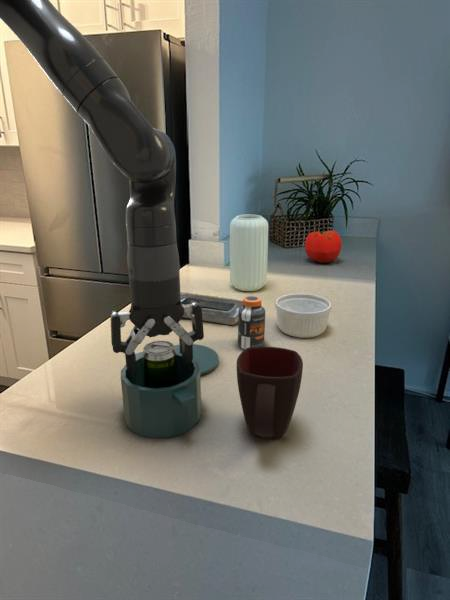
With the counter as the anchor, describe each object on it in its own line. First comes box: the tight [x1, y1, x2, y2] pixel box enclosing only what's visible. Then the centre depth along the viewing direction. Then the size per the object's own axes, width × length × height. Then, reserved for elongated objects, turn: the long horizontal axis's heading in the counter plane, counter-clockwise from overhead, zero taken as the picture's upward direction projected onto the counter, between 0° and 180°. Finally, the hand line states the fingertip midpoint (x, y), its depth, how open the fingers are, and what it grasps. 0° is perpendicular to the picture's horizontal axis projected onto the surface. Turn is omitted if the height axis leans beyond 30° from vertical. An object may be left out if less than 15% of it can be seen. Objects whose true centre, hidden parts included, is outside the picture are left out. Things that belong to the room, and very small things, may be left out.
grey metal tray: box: [180, 291, 243, 326], centre depth 115 cm, size 13×25×3 cm, turn 71°
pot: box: [120, 351, 202, 439], centre depth 71 cm, size 13×18×8 cm
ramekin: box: [274, 292, 332, 339], centre depth 104 cm, size 13×13×7 cm
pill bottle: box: [237, 295, 266, 350], centre depth 95 cm, size 6×6×11 cm
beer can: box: [142, 340, 178, 389], centre depth 70 cm, size 5×5×12 cm
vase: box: [229, 213, 269, 292], centre depth 131 cm, size 12×12×22 cm
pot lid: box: [174, 337, 219, 376], centre depth 88 cm, size 14×14×6 cm
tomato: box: [304, 229, 342, 264], centre depth 162 cm, size 13×14×12 cm
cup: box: [236, 346, 304, 440], centre depth 65 cm, size 10×14×12 cm
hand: (160, 367), depth 69 cm, fingers open, 8 cm apart
